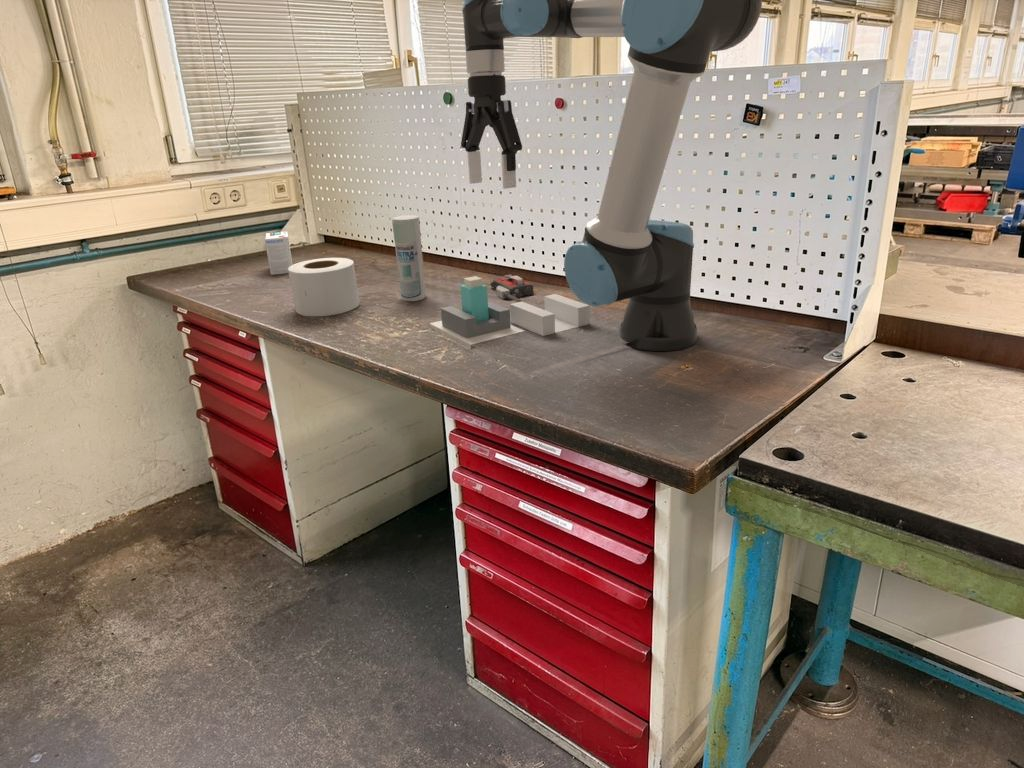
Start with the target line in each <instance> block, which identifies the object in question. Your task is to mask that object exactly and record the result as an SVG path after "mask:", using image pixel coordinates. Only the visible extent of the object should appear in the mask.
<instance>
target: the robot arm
mask: <svg viewBox="0 0 1024 768" xmlns="http://www.w3.org/2000/svg"><path fill="white" fill-rule="evenodd" d="M762 5H763V0H462V10H461V11H462V18H463V19H462V20H463V29H464V31H463V33H464V44H465V45H464V46H465V61H466V73H467V74H468V75H469V76H468V78H467V92H468V94H467V95H468V96H469V97H471V98H474V101H466V102H465V117H464V123H463V129H462V135H461V140H460V141H461V143H460V147H461V149H465V151H466V152H467V163H468V181H469V184H472V185H473V184H479V183H480V184H481V183H483V177H482V161H481V160H482V159H481V158H482V157H481V148H480V144H481V141H482V138H483V135H484V132H485V129H486V128H487V127H488V126H489V127H490V128H492V130H493V132H494V134H495V136H496V138H497V139H496V140H498V143H499V145H500V147H501V150H502V151H501V171H502V172H501V173H502V189H505V190H506V189H513V188H514V189H515V188H517V177H516V176H517V172H516V170H517V167H516V166H517V164H516V162H517V160H516V159H517V158H516V157H517V156H516V154H518V152H519V151H522V149H523V144H522V142H521V141H522V140H521V138H520V137H521V136H520V133H519V130H518V128H517V124H516V122H515V118H514V114H513V108H512V102H511V100H509V99H508V100H507V99H505V100H502V96H506V92H507V91H506V89H507V87H506V77H505V75H502V73H504V72H505V56H504V55H505V53H504V49H505V46H504V39H513V38H565V39H567V38H568V39H569V38H570V39H581V38H624V39H625V41H626V42H627V43H628V44H629V48H628V49H629V50H628V53H627V58H628V60H629V61H630V63H631V65H632V68H633V75H632V78H631V83H630V86H629V91H628V94H627V98H626V102H625V105H624V111H623V115H622V117H621V122H620V126H619V130H618V134H617V138H616V143H615V146H614V150H613V153H612V154H613V155H612V158H611V162H610V167H609V171H608V173H607V179H606V182H605V186H604V190H603V194H602V197H601V201H600V205H599V209H598V214H597V215H596V216H593V217H592V218H590V219H589V220H588V221H587V222H586V225H585V229H584V234H583V239H582V241H576V242H575V243H573V244H572V245H571V246H570V247H568V248H567V251H566V252H565V256H564V259H563V260H564V261H563V262H564V263H563V269H564V275H565V279H566V281H567V283H568V285H569V288H570V291H571V292H572V293H573V294H574V296H575V297H576V298H577V299H578V301H579V302H581V303H584V304H587V305H590V307H600V306H604V305H605V306H610V305H612V304H615V303H616V302H620V301H624V300H626V299H628V303H627V306H626V309H625V313H624V314H623V315H624V316H623V320H622V322H621V323H620V326H619V337H620V338H621V339H622V340H624V341H625V342H626V343H624V345H626V346H628V347H631V348H634V349H636V350H637V349H638V350H643V351H651V352H652V351H653V352H668V351H669V352H671V351H678V350H683V349H686V348H689V347H691V346H693V345H694V344H696V342H697V341H698V326H697V324H696V323H695V319H694V313H693V309H692V304H691V286H692V273H693V272H692V271H693V255H694V248H695V244H694V230H693V228H692V227H691V226H690V225H688V224H686V223H683V222H676V221H668V220H667V221H666V220H656V219H655V220H654V219H650V218H651V214H652V211H653V208H654V205H655V201H656V197H657V194H658V191H659V189H660V185H661V182H662V178H663V175H664V171H665V168H666V165H667V162H668V158H669V155H670V152H671V148H672V145H673V142H674V138H675V135H676V131H677V129H678V126H679V121H680V118H681V115H682V113H683V112H682V111H683V108H684V105H685V102H686V98H687V94H688V92H689V87H690V86H691V85H690V84H691V83H692V82H693V81H694V80H696V79H697V78H699V77H700V76H702V75H704V74H705V72H706V71H705V70H706V67H707V65H708V61H709V58H710V54H711V53H712V52H721V51H727V50H728V49H729V50H730V49H731V48H734V47H736V46H738V45H739V44H741V43H742V42H743V41H744V40H745V39H746V38H748V36H749V35H750V34H751V33H752V32H753V30H754V29H755V27H756V25H757V23H758V22H759V18H760V15H761V13H762V8H763V6H762Z"/></svg>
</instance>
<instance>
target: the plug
mask: <svg viewBox="0 0 1024 768" xmlns="http://www.w3.org/2000/svg"><path fill="white" fill-rule="evenodd" d="M483 282H484V281H483V278H482V277H480V276H476V275H474V276H469V277H464V278H463V284H462V285H459V286H460V298H461V299H460V300H461V311H463V312H466V313H468V314H470V315H472V316H475V317H476V322H480V321H485V320H489V314H488V301H489V300H488V299H489V298H488V285H486V284H483Z"/></svg>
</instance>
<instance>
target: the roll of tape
mask: <svg viewBox="0 0 1024 768" xmlns="http://www.w3.org/2000/svg"><path fill="white" fill-rule="evenodd" d="M288 272H289V273H288V276H289V282H290V287H291V293H292V298H293V303H294V304H293V305H294V309H295V313H296V314H299V315H301V316H303V317H304V316H305V317H327V316H333V315H334V316H335V315H339V314H344V313H347V312H350V311H353V310H354V309H356V308H358V307H359V306H360V304H361V303H360V296H359V289H358V283H357V277H356V276H357V275H356V269H355V263H354V260H352V259H350V258H347V257H323V258H315V259H308V260H303V261H300V262H297V263H294V264H293V265H292V266H290V267H289V268H288Z"/></svg>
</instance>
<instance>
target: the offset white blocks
mask: <svg viewBox="0 0 1024 768" xmlns="http://www.w3.org/2000/svg"><path fill="white" fill-rule="evenodd" d="M543 299H544V302H543V303H544V309H543V308H540V307H538V306H535V305H532V304H529V303H527V302H524V301H522V302H517V301H516V302H513V303H510V304H509V309H510V324H514V325H517V326H519V327H521V328H523V329H526V330H528V331H531V332H533V333H535V334H538V335H540V336H543V337H545V336H549V335H552V334H556V333H560V332H563V331H567V330H571V329H576V328H580V327H583V326H588V325H590V322H591V321H590V317H591V316H590V314H591V313H590V309H591V308H590V307H591V306H590V305H587V304H585V303H583V302H582V301H579V300H574V299H572V298H569V297H565V296H563V295H560V294H556V293H553V294H549V295H545V296H544V297H543Z"/></svg>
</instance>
